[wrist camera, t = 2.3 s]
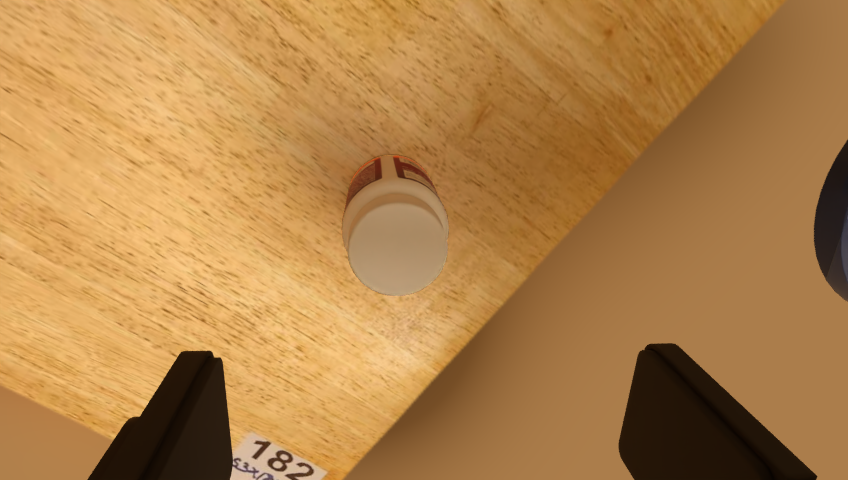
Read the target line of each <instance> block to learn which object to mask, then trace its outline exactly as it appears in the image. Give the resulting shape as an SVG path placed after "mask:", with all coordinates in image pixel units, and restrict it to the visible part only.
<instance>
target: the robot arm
mask: <svg viewBox="0 0 848 480" xmlns="http://www.w3.org/2000/svg"><path fill="white" fill-rule="evenodd" d="M619 452H620V456H621V459H622V460H623V462H624V464H625V465H626V467H627V469H628V470H629V472H630V473H631V475H632V477H633V478H634V480H816V478H817V476H816V475H815V474H814V473H813V472H812V471H811V470H810V469H809V468H808V467H807V466H806V465H805V464H804V463H803V462H802V461H800V460H799V459H798V458H797V457H796V456H795V455H794V454H793V453H792V452H791V451H790V450H789V449H788V448H786V447H785V446H784V445H783V444H782V443H781V442H780V441H779V440H778V439H777V438H776V437H775V436H774V435H773V434H772V433H771V432H770V431H768V430H767V429H766V428H765V427H764V426H763V425H762V424H761V423H760V422H759V421H758V420H757V419H755V417H753V416H752V415H751V414H750V413H749V412H748V411H747V410H746V409H745V408H744V407H743V406H742V405H741V404H740V403H738V402H737V401H736V400H735V399H734V398H733V397H732V396H731V395H730V394H729V393H728V392H727V391H726V390H725V389H724V388H723V387H721V386H720V385H719V384H718V383H717V382H716V381H715V380H714V379H713V378H712V377H711V376H710V375H709V374H707V373H706V372H705V371H704V370H703V369H702V368H701V367H700V366H699V365H698V364H696V362H695V361H694V360H693V359H692V358H690V357H689V356H688V355H687V354H686V353H685V352H684V351H683V350H682V349H681V348H680V347H679V346H677V345H676V344H672V343H668V344H649V345H647V346H646V347H645V350H642V351H640V352H639V354H638V357H637V362H636V366H635V371H634V376H633V380H632V385H631V389H630V394H629V398H628V403H627V408H626V412H625V416H624V421H623V426H622V430H621V435H620V439H619ZM232 465H233V456H232V447H231V437H230V428H229V418H228V409H227V399H226V390H225V380H224V370H223V362H222V359H221V358H214V356H213V353H212V352H211V351H183V352H181V353H180V354H179V356H178V357H177V359H176V361H175V362H174V364H173V365H172V367H171V368H170V370H169V372H168V373H167V375H166V376H165V378H164V379H163V381H162V383H161V384H160V386H159V387H158V389H157V390H156V392H155V394H154V395H153V397H152V398H151V400H150V401H149V403H148V405H147V406H146V408H145V409H144V411H143V412H142V414H141V416H140V417H132V418H130V419H129V420H128V421H127V422H126V423H125V424H124V425H123V427H122V428H121V430H120V431H119V433H118V434H117V436H116V437H115V439H114V441H113V442H112V444H111V445H110V447H109V448H108V450H107V451H106V453H105V454H104V456H103V457H102V459H101V460H100V462H99V463H98V465H97V466H96V468H95V469H94V471H93V472H92V474H91V475H90V477H89V478H88V480H230V477H231V472H232Z"/></svg>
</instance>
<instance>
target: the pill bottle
mask: <svg viewBox="0 0 848 480" xmlns="http://www.w3.org/2000/svg"><path fill="white" fill-rule="evenodd" d="M448 233H449V223H448V217H447V213H446V210H445V208H444V206H443V204H442V202H441V200H440V198H439V196H438V194H437V192H436V190H435V187H434V185H433V183H432V181H431V179H430V177H429V175H428V174H427V172H426V171H425V170H424V169H423V168H422V167H421V166H420V165H419V164H418V163H417V162H415V161H413V160H411V159H409V158H407V157H404V156H400V155H382V156H379V157H376V158H374V159H371V160H370V161H368V162H366V163H365V164H364V165H363V166H361V167H360V168H359V170H358V171H357V172H356V173H355V175H354V177H353V178H352V181H351V183H350V186H349V190H348V195H347V200H346V206H345V211H344V215H343V220H342V237H343V242H344V246H345V248H346V251H347V253H348V259H349V263H350V266H351V268H352V270H353V272H354V274H355V275H356V276H357V278H358V279H359V280H360V281H361V282H362V283H363V284H364V285H365V286H367V287H368V288H370V289H371V290H373V291H376V292H378V293H381V294H385V295H391V296H403V295H409V294H412V293H415V292H418V291H420V290H422V289H424V288H425V287H427V286H428V285H430V284H431V283H432V282H433V281H434V280H435V279H436V278H437V277H438V275H439V274H440V272H441V271H442V269H443V267H444V264H445V262H446V258H447V251H448V243H447V239H448Z"/></svg>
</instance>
